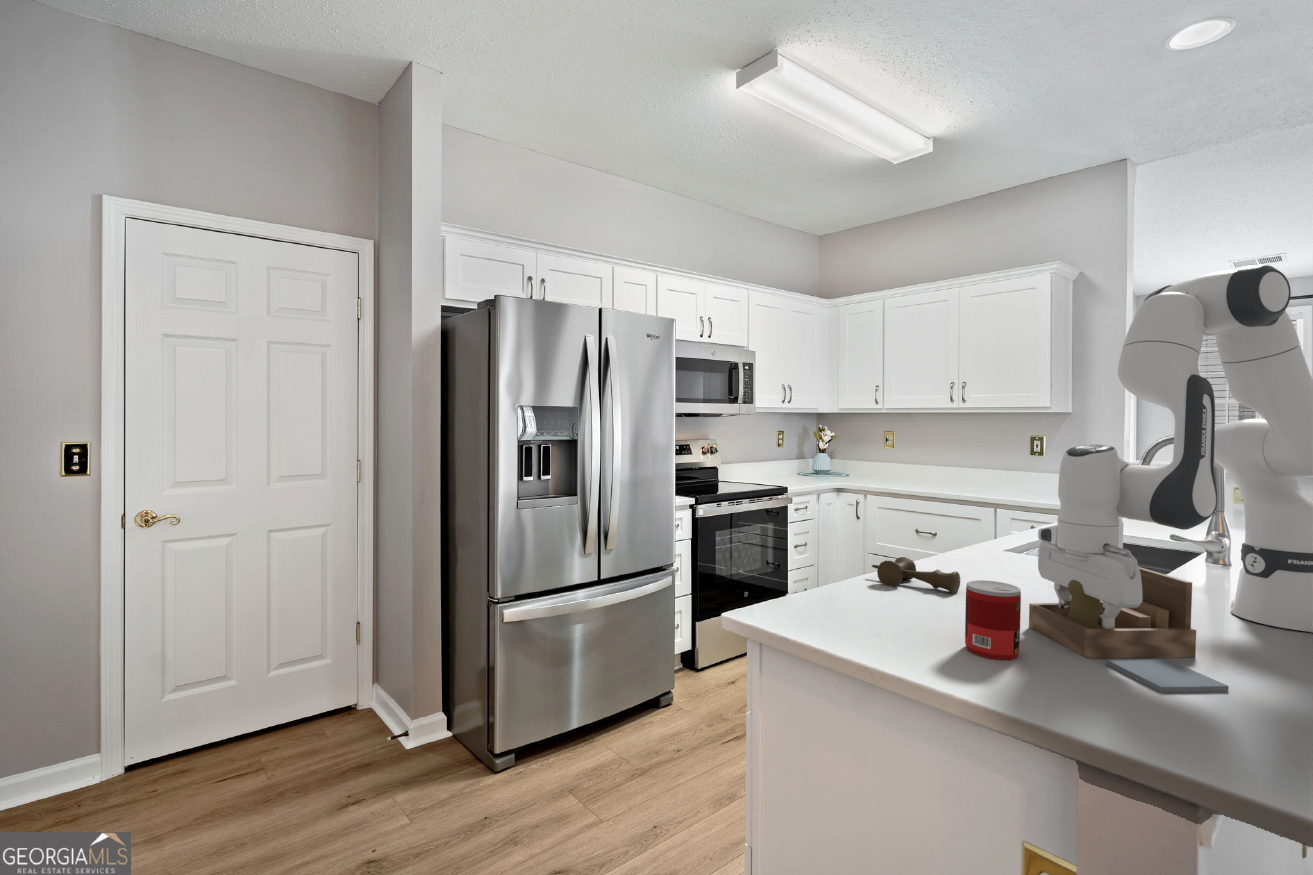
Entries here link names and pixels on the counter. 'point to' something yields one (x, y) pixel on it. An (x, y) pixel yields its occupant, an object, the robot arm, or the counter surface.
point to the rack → (1127, 641)
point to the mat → (1167, 675)
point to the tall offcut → (1154, 614)
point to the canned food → (993, 619)
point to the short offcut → (1130, 619)
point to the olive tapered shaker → (1083, 606)
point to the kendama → (915, 575)
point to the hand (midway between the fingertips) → (1085, 618)
